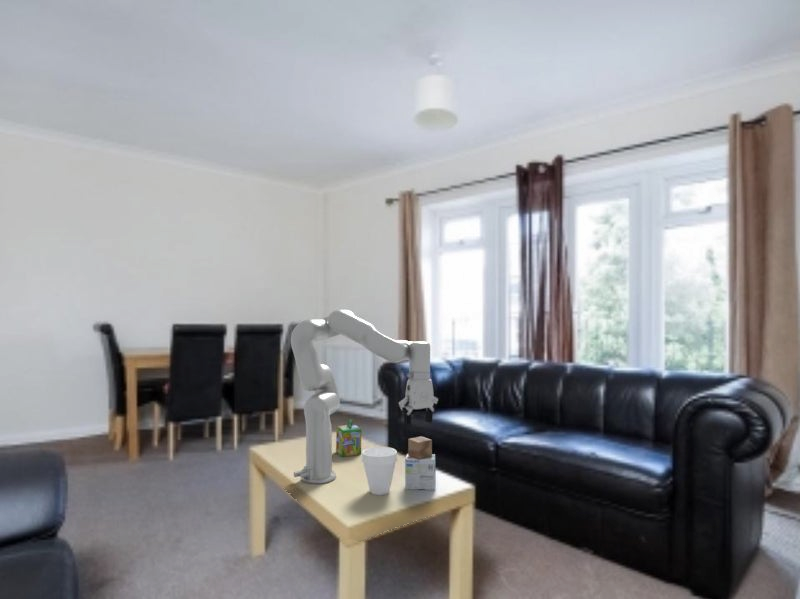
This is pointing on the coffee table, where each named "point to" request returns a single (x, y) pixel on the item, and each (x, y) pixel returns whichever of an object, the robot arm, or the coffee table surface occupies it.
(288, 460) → the coffee table surface
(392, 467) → the cup
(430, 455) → the walnut block
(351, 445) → the chalk box
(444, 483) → the coffee table surface
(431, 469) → the light bulb box
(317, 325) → the robot arm
